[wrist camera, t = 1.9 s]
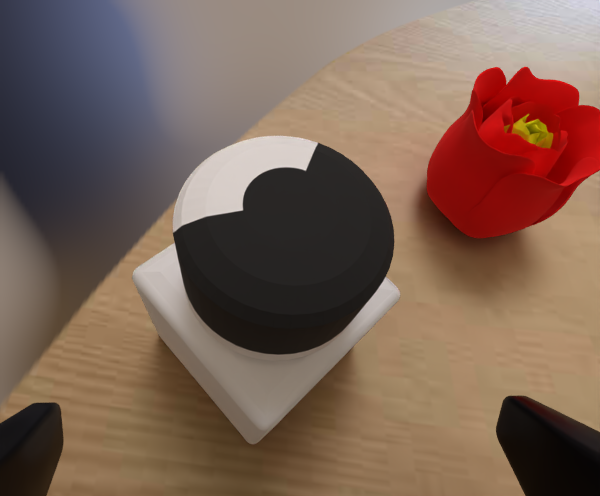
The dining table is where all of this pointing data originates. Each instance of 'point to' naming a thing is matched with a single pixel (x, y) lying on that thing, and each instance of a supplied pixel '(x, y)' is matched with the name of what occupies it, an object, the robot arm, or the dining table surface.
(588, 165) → the flower
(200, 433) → the dining table surface
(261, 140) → the medicine bottle
